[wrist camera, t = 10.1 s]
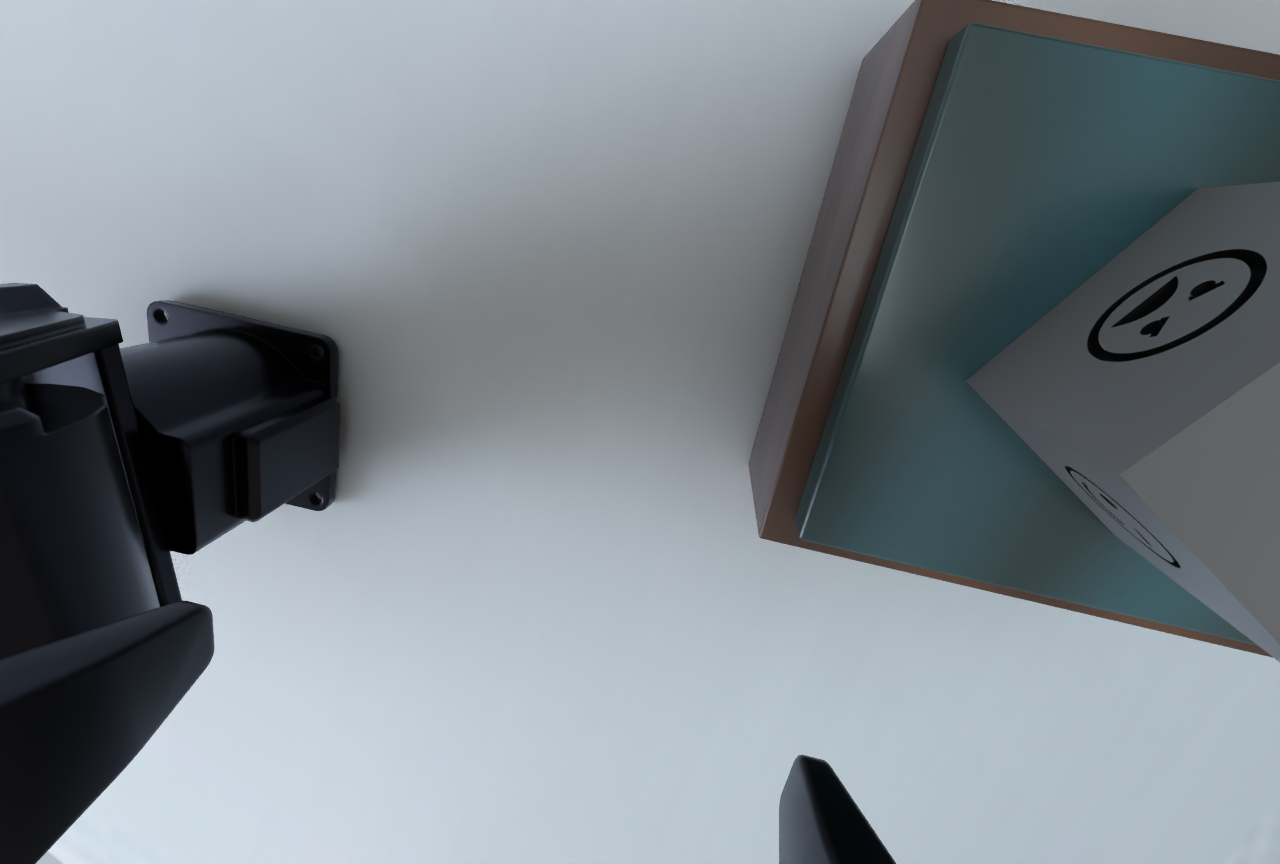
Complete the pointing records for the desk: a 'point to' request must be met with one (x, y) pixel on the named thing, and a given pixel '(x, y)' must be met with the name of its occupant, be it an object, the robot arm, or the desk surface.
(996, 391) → the dice cube
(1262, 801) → the desk surface
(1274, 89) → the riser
